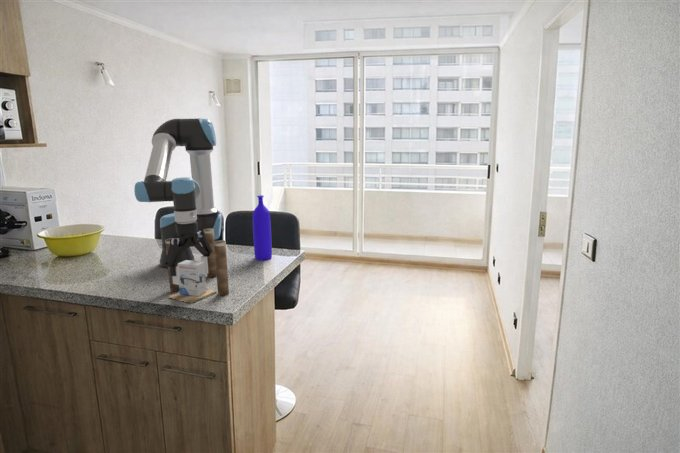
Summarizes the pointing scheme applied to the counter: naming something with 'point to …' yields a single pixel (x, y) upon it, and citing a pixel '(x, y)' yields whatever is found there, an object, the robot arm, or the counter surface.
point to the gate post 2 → (212, 263)
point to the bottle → (262, 231)
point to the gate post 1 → (172, 286)
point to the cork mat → (191, 298)
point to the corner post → (221, 267)
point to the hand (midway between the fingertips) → (191, 278)
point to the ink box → (192, 278)
